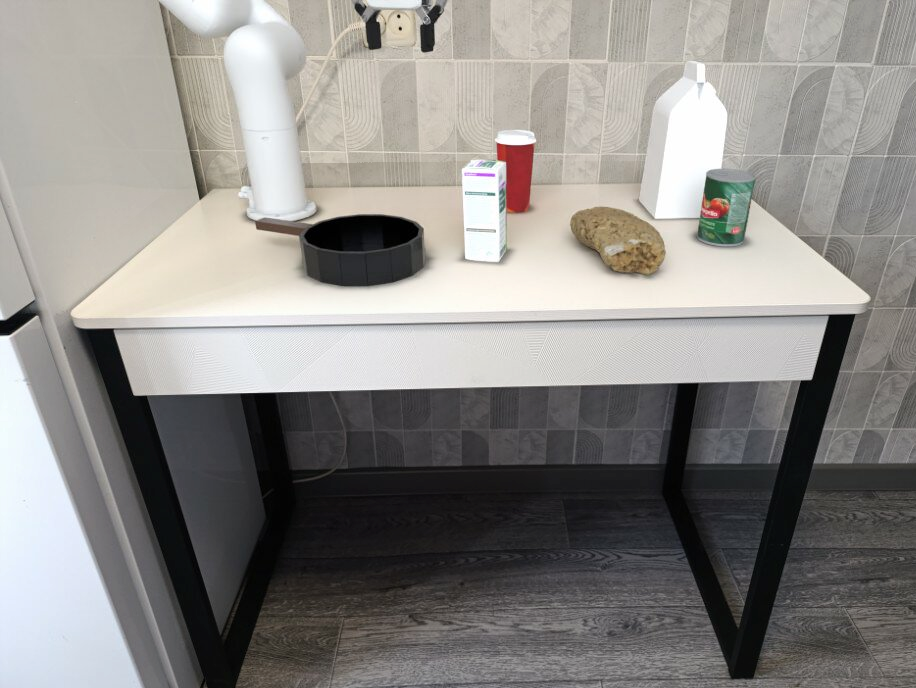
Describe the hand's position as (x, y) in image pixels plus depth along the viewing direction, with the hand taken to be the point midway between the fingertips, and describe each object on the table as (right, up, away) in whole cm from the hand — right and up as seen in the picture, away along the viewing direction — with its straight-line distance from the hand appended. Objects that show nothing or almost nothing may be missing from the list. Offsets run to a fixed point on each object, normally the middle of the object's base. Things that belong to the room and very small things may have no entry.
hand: (400, 50), depth 113 cm
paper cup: (+19, -21, +21) cm, 35 cm away
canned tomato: (+54, -30, +6) cm, 62 cm away
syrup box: (+14, -34, -2) cm, 37 cm away
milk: (+50, -21, +21) cm, 59 cm away
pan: (-9, -35, -4) cm, 36 cm away
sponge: (+35, -34, -1) cm, 48 cm away
